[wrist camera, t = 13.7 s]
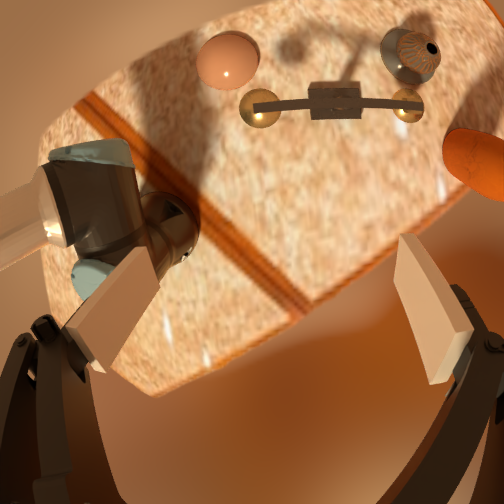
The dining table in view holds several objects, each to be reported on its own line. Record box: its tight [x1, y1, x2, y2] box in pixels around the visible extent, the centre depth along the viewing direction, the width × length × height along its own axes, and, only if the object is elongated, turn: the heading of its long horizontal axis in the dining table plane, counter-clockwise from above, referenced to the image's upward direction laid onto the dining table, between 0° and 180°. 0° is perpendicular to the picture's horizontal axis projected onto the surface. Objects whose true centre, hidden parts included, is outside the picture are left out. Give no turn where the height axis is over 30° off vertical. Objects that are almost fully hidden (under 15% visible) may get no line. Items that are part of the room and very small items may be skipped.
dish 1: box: [196, 34, 258, 90], centre depth 37 cm, size 10×10×1 cm
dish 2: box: [381, 29, 435, 84], centre depth 31 cm, size 10×10×1 cm
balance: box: [239, 88, 424, 128], centre depth 32 cm, size 26×5×15 cm, turn 98°
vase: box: [396, 33, 441, 74], centre depth 27 cm, size 7×7×9 cm
